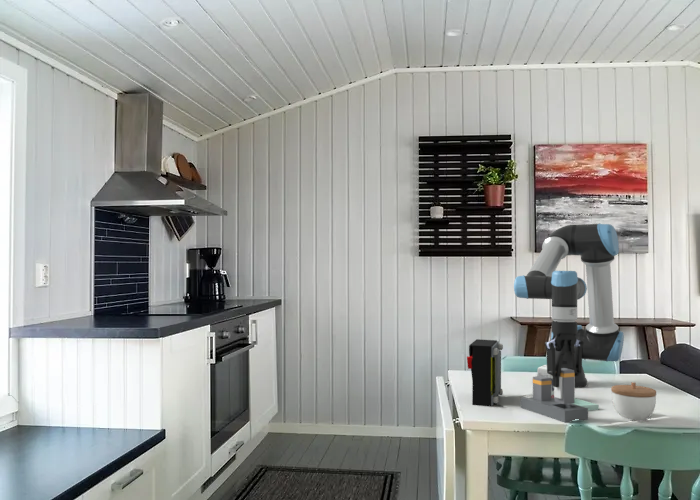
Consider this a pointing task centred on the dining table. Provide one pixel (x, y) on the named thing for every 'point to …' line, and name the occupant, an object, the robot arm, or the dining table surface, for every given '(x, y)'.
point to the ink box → (543, 372)
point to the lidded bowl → (633, 401)
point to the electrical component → (485, 371)
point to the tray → (586, 404)
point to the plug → (567, 386)
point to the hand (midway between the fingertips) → (564, 396)
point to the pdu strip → (551, 403)
